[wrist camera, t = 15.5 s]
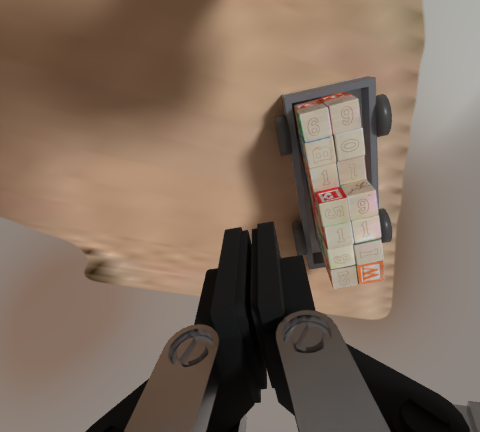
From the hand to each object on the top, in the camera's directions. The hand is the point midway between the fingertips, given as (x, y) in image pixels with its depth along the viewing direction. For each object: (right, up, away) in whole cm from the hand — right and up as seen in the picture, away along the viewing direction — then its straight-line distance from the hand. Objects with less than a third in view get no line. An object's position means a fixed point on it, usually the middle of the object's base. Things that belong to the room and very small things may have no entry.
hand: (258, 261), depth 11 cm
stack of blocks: (+12, +8, +34) cm, 37 cm away
